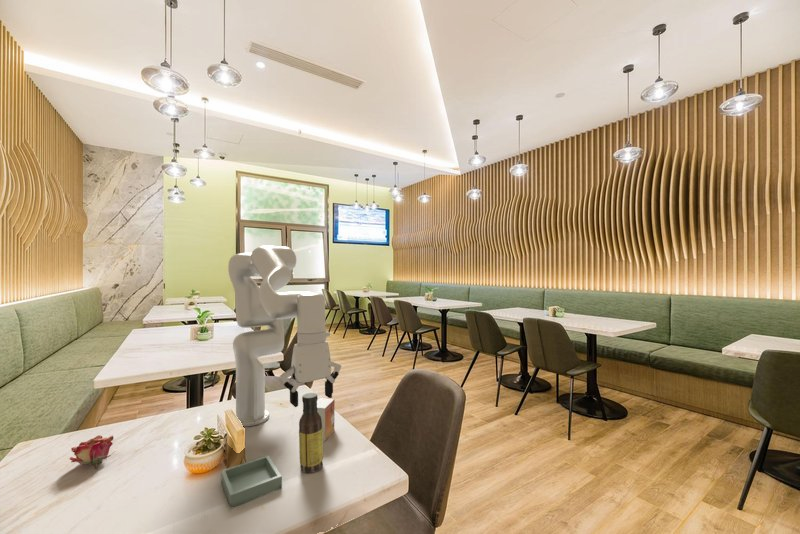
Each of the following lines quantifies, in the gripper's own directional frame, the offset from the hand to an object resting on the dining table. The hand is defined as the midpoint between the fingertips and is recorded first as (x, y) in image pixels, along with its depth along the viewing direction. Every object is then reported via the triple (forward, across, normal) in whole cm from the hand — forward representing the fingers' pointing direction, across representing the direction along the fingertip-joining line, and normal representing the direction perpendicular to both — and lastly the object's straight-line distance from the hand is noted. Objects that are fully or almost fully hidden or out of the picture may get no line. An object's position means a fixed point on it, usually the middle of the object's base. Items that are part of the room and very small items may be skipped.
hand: (312, 400), depth 91 cm
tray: (+18, +15, -3) cm, 24 cm away
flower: (+18, +48, -39) cm, 64 cm away
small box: (+18, -10, -16) cm, 26 cm away
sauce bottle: (+19, 0, -1) cm, 19 cm away
